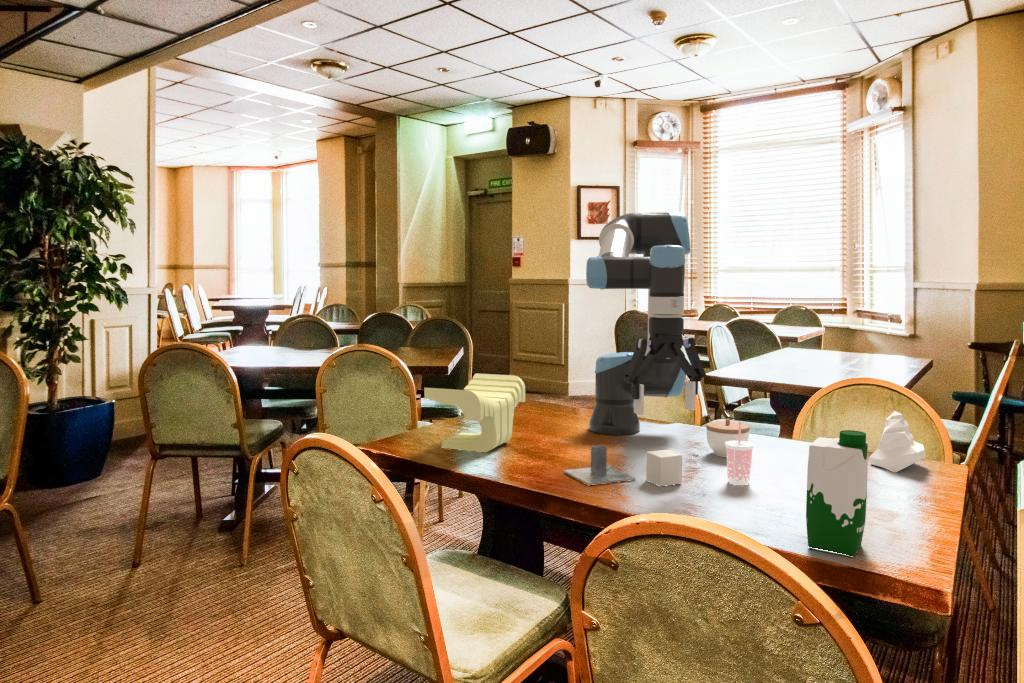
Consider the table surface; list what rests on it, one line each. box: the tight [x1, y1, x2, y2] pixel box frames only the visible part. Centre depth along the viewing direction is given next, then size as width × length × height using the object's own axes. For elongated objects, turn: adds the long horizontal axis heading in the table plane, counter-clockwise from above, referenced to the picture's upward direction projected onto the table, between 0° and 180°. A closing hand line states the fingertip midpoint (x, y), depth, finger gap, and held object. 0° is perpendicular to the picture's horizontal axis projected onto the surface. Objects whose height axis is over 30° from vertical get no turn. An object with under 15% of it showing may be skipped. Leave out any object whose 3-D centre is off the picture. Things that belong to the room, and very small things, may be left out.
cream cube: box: [645, 449, 683, 487], centre depth 160 cm, size 6×6×7 cm
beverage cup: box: [725, 420, 755, 485], centre depth 160 cm, size 6×6×14 cm
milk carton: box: [805, 429, 869, 557], centre depth 121 cm, size 9×9×20 cm
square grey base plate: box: [563, 444, 636, 485], centre depth 165 cm, size 12×12×7 cm
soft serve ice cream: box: [868, 410, 927, 473], centre depth 174 cm, size 12×15×14 cm
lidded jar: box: [705, 418, 750, 458], centre depth 186 cm, size 11×11×9 cm
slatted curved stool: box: [423, 372, 526, 453], centre depth 196 cm, size 30×16×18 cm, turn 157°
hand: (664, 411), depth 159 cm, fingers open, 13 cm apart
